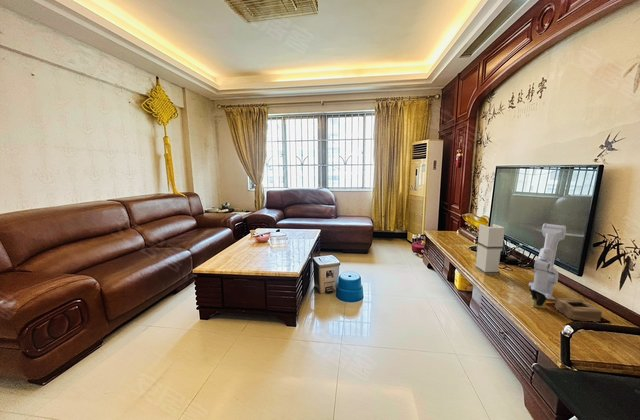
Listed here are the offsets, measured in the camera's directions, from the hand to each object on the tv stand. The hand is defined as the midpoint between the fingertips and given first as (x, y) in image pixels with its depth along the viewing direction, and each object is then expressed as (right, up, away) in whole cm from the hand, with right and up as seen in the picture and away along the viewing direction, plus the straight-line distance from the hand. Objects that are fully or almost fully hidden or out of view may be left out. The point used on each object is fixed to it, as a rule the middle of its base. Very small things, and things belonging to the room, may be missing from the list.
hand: (537, 303), depth 141 cm
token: (0, -1, 0) cm, 1 cm away
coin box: (+13, -3, -9) cm, 16 cm away
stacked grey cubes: (+3, +7, +47) cm, 47 cm away
